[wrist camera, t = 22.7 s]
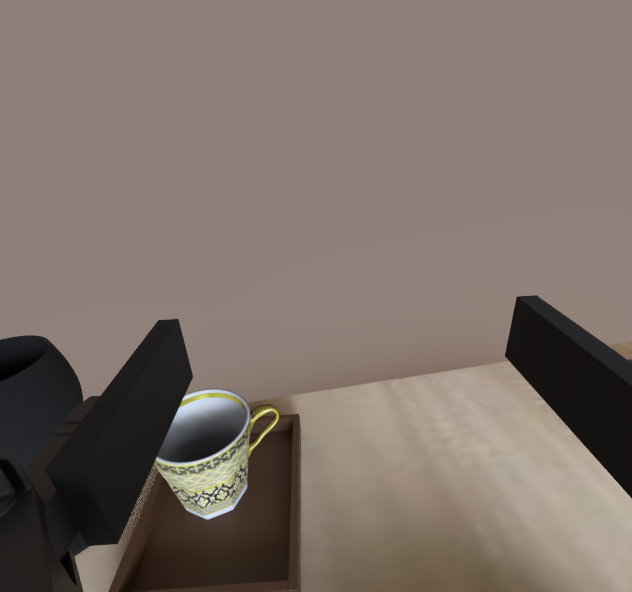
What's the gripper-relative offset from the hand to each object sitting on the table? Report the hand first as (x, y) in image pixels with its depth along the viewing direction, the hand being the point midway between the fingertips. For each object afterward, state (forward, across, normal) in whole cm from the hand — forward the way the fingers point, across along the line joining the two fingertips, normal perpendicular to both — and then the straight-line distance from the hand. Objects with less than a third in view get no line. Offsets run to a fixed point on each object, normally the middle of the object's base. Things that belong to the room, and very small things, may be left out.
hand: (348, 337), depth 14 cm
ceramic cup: (+15, -12, -28) cm, 34 cm away
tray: (+14, -12, -29) cm, 34 cm away
